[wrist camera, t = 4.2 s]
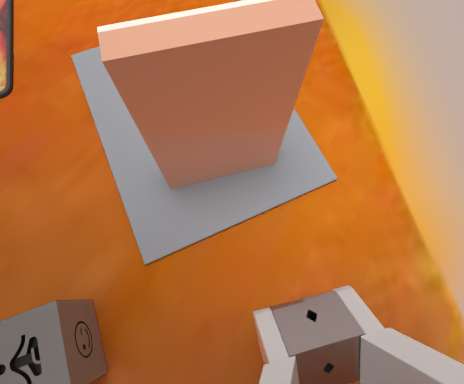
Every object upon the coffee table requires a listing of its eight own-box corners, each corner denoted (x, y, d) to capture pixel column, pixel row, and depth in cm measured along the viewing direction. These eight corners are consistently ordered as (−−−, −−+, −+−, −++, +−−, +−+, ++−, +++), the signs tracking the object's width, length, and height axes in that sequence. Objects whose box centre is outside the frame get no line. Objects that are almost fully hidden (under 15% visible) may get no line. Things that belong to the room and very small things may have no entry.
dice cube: (108, 371, 21) (72, 393, 16) (34, 402, 20) (-26, 435, 15) (92, 299, 22) (55, 300, 17) (24, 326, 21) (-34, 334, 17)
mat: (146, 264, 23) (144, 264, 22) (73, 58, 29) (71, 55, 29) (335, 180, 25) (337, 178, 25) (229, 7, 32) (229, 3, 32)
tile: (274, 164, 25) (323, 18, 12) (170, 188, 24) (102, 61, 11) (268, 146, 26) (309, -12, 13) (166, 169, 25) (97, 26, 12)
